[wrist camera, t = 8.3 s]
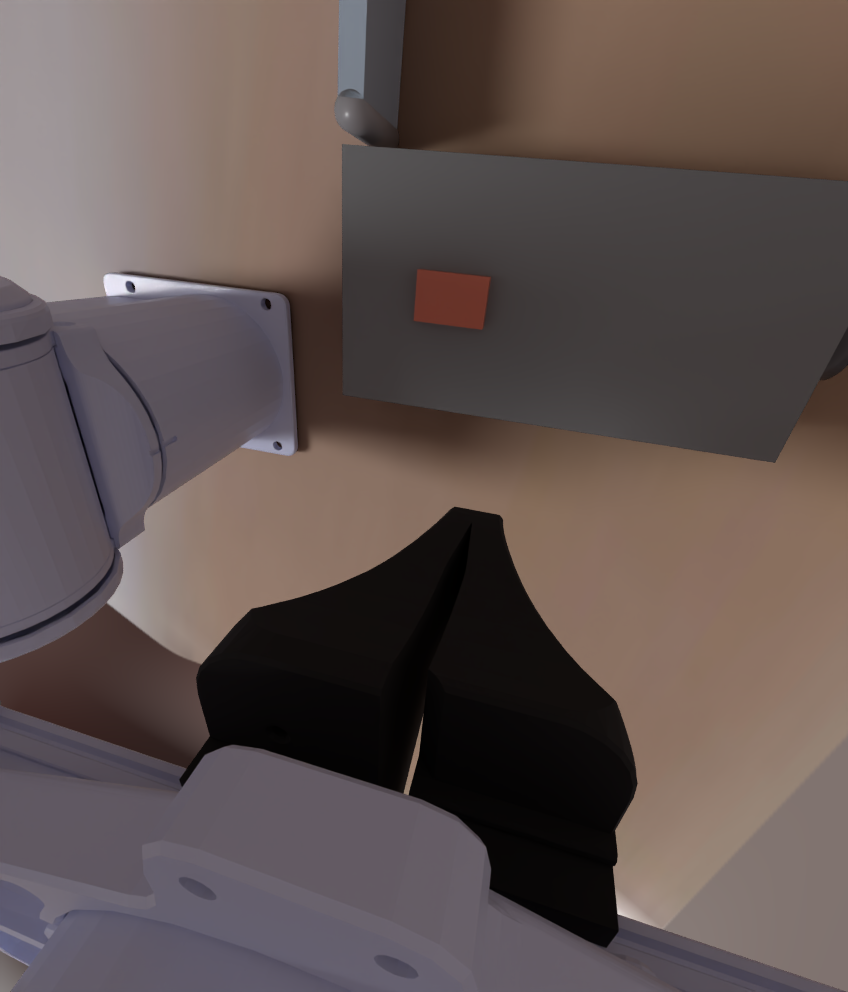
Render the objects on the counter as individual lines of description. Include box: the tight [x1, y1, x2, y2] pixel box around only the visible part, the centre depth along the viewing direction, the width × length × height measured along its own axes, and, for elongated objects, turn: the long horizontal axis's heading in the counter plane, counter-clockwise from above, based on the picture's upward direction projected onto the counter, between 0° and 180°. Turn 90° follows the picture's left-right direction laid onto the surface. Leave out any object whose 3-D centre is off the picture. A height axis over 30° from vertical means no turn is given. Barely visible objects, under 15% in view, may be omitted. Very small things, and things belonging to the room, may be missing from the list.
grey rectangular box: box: [342, 144, 848, 463], centre depth 16 cm, size 17×8×4 cm, turn 85°
